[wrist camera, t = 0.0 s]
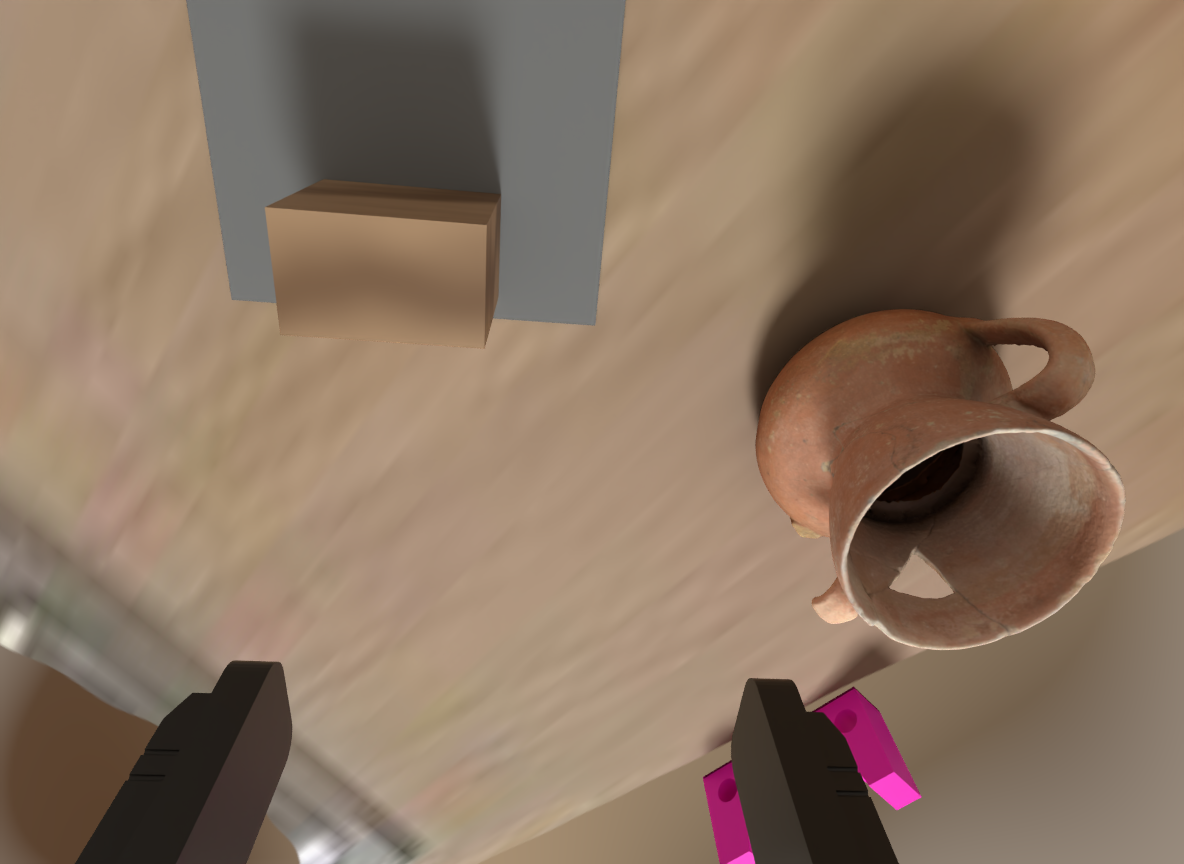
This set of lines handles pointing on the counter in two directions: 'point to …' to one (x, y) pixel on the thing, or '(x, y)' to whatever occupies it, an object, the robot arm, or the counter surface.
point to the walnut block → (386, 263)
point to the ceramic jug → (941, 472)
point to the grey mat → (419, 123)
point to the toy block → (870, 753)
